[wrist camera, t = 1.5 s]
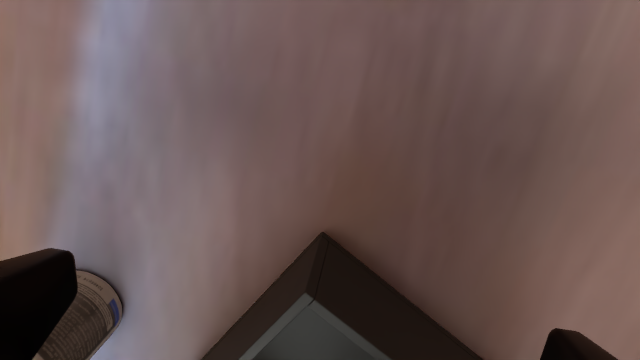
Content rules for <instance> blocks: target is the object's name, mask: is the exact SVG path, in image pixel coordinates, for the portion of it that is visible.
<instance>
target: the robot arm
mask: <svg viewBox="0 0 640 360" xmlns="http://www.w3.org/2000/svg"><path fill="white" fill-rule="evenodd" d="M77 291H78V282H77V274H76V266H75V259H74V256H73V254H72V253H71V252H70V251H66V250H60V249H54V248H48V249H44V250H40V251H37V252H33V253H29V254H26V255H22V256H18V257H14V258H11V259H7V260H3V261H0V360H33V358H34V357H35V355H36V354H37V353H38V351H39V350H40V348H41V347H42V345H43V344H44V343H45V341H46V340H47V338H48V337H49V335H50V334H51V333H52V331H53V330H54V328H55V327H56V325H57V324H58V323H59V321H60V320H61V318H62V317H63V315H64V314H65V313H66V311H67V310H68V308H69V307H70V306H71V304H72V303H73V301H74V299H75V297H76V295H77ZM540 360H618V359H616V358H615V357H614V356H612V355H611V354H609V353H608V352H607V351H605V350H604V349H602V348H601V347H600V346H598V345H597V344H595V343H594V342H592V341H591V340H590V339H588V338H587V337H585V336H584V335H583V334H581V333H579V332H577V331H572V330H565V329H558V328H555V329H553V330H551V332H550V333H549V335H548V338H547V341H546V344H545V346H544V349H543V352H542V355H541V358H540Z"/></svg>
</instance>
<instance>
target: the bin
mask: <svg viewBox="0 0 640 360" xmlns="http://www.w3.org/2000/svg"><path fill="white" fill-rule="evenodd" d="M201 360H482V359H481V358H480V357H478V356H477V355H476V354H475V353H473V352H472V351H471V350H470V349H468V348H467V347H466V346H465V345H463V344H462V343H461V342H460V341H458V340H457V339H456V338H455V337H453V336H452V335H451V334H450V333H448V332H447V331H446V330H445V329H444V328H442V327H441V326H440V325H439V324H437V323H436V322H435V321H434V320H432V319H431V318H430V317H429V316H427V315H426V314H425V313H424V312H422V311H421V310H420V309H419V308H417V307H416V306H415V305H414V304H412V303H411V302H410V301H409V300H407V299H406V298H405V297H404V296H402V295H401V294H400V293H399V292H397V291H396V290H395V289H394V288H392V287H391V286H390V285H389V284H387V283H386V282H385V281H384V280H382V279H381V278H380V277H379V276H377V275H376V274H375V273H374V272H372V271H371V270H370V269H369V268H367V267H366V266H365V265H364V264H362V263H361V262H360V261H359V260H357V259H356V258H355V257H354V256H352V255H351V254H350V253H349V252H347V251H346V250H345V249H344V248H342V247H341V246H340V245H339V244H337V243H336V242H335V241H334V240H332V239H331V238H330V237H329V236H327V235H326V234H325V233H324V232H322V233H321V234H320V235H319V236H318V237H317V238H316V239H315V240H314V241H313V242H312V243H311V244H310V245H309V246H308V247H307V248H306V249H305V250H304V252H303V253H302V254H301V255H300V256H299V257H298V258H297V259H296V260H295V261H294V262H293V263H292V264H291V265H290V266H289V267H288V268H287V270H286V271H285V272H284V273H283V274H282V275H281V276H280V277H279V278H278V279H277V280H276V281H275V282H274V283H273V284H272V285H271V286H270V287H269V289H268V290H267V291H266V292H265V293H264V294H263V295H262V296H261V297H260V298H259V299H258V300H257V301H256V302H255V303H254V304H253V305H252V307H251V308H250V309H249V310H248V311H247V312H246V313H245V314H244V315H243V316H242V317H241V318H240V319H239V320H238V321H237V322H236V323H235V324H234V326H233V327H232V328H231V329H230V330H229V331H228V332H227V333H226V334H225V335H224V336H223V337H222V338H221V339H220V340H219V341H218V342H217V344H216V345H215V346H214V347H213V348H212V349H211V350H210V351H209V352H208V353H207V354H206V355H205V356H204V357H203V358H202V359H201Z"/></svg>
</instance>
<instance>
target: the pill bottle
mask: <svg viewBox="0 0 640 360" xmlns="http://www.w3.org/2000/svg"><path fill="white" fill-rule="evenodd" d="M76 274H77V282H78V291H77V295H76V297H75V299H74V301H73V303H72V304H71V306H70V307H69V308H68V310H67V311H66V313H65V314H64V315H63V317H62V318H61V320H60V321H59V323H58V324H57V325H56V327H55V328H54V330H53V331H52V333H51V334H50V335H49V337H48V338H47V340H46V341H45V343H44V344H43V345H42V347H41V348H40V350H39V351H38V353H37V354H36V355H35V357H34V358H33V360H89V359H90V358H91V357H92V356H93V355H94V354H95V353H96V352H97V351H98V349H99V348H100V347H101V346H102V345H103V344H104V342H105V341H106V340H107V339H108V338H109V337H110V336H111V335H112V333H113V332H114V331H115V330H116V328H117V327H118V325H119V323H120V321H121V317H122V305H121V302H120V300H119V297H118V296H117V294H116V292H115V291H114V290H113V288H112V287H111V286H110V285H109V284H108V283H106V282H105V281H104V280H102V279H101V278H99V277H97V276H95V275H93V274H90V273H87V272H84V271H76Z"/></svg>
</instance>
